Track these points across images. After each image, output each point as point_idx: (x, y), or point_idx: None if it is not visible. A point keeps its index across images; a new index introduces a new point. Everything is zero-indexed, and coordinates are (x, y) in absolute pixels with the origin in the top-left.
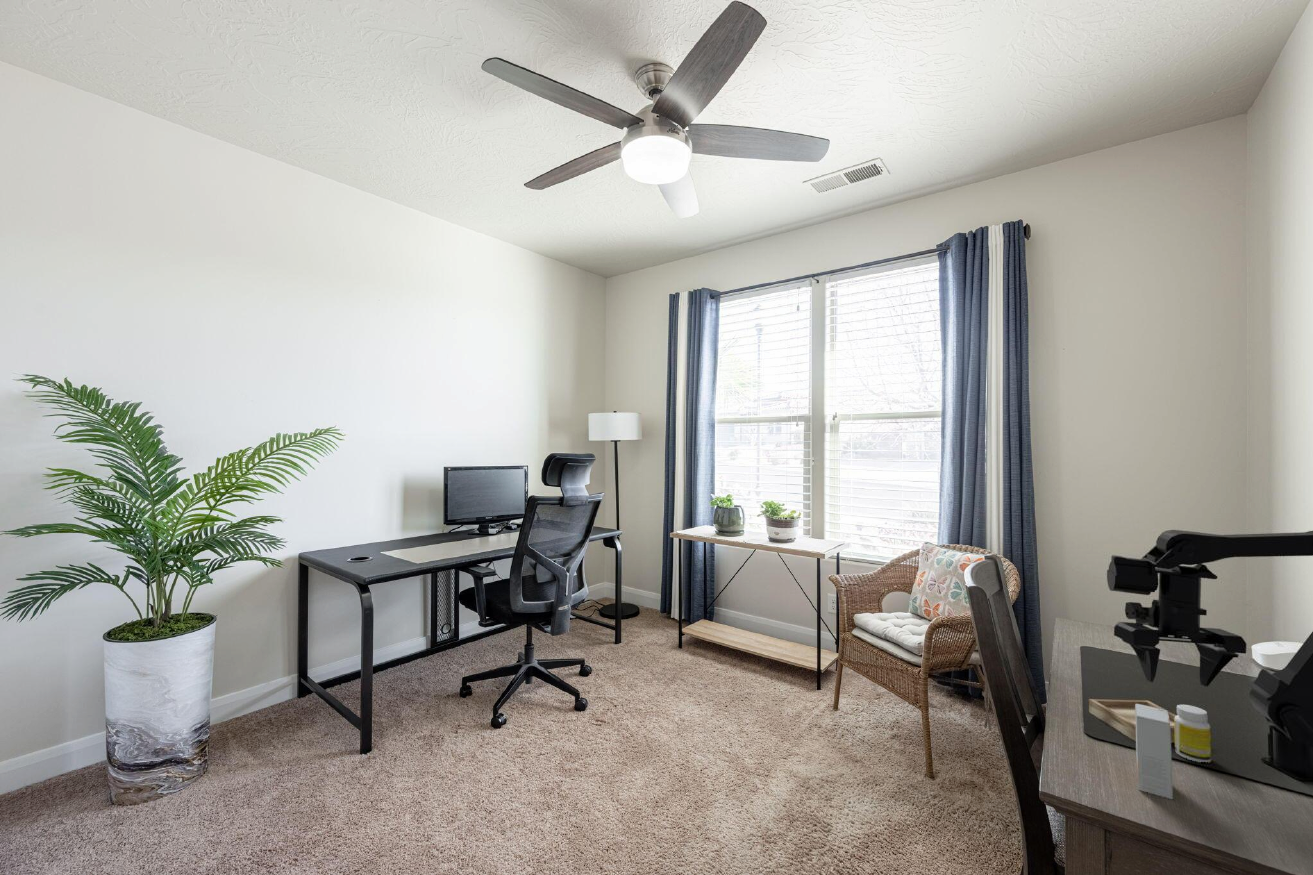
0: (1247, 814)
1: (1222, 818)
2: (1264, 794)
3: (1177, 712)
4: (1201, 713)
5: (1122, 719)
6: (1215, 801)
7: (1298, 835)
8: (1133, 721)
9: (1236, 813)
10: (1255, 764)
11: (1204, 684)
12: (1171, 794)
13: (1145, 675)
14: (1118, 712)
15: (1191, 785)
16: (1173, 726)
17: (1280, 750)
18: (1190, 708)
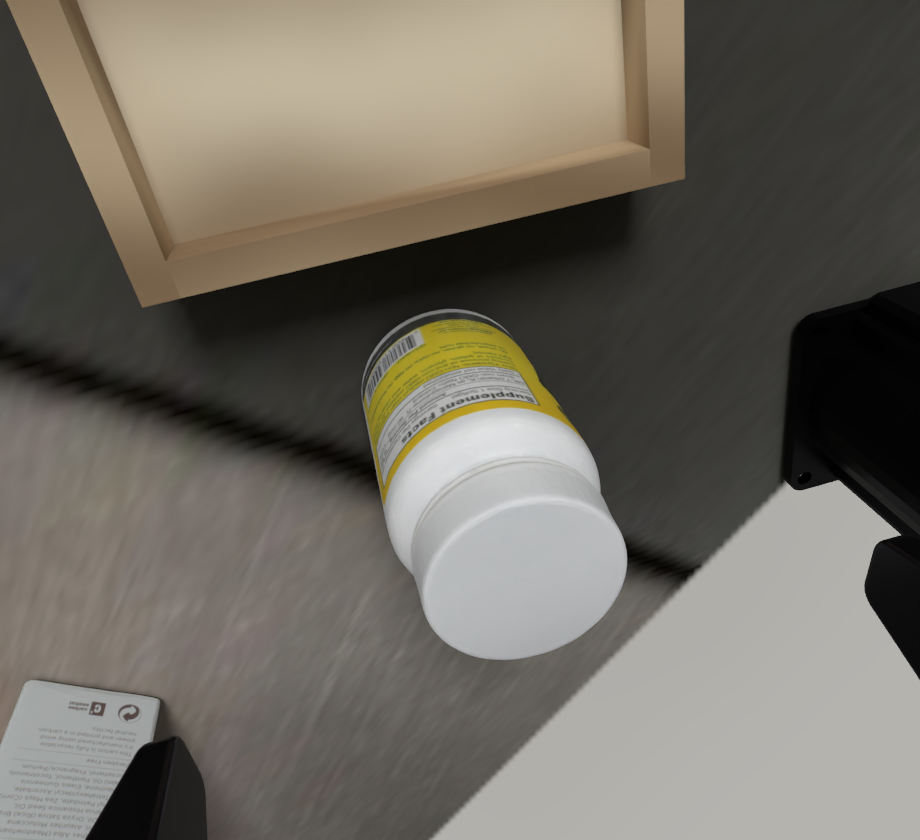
0: (357, 780)
1: (250, 831)
2: None
3: (413, 549)
4: (545, 645)
5: (76, 157)
6: (289, 748)
7: (441, 821)
8: (231, 9)
9: (321, 788)
10: (728, 370)
11: (877, 603)
12: None
13: (110, 812)
14: None
15: (256, 675)
16: (480, 205)
17: (869, 454)
18: (527, 574)
